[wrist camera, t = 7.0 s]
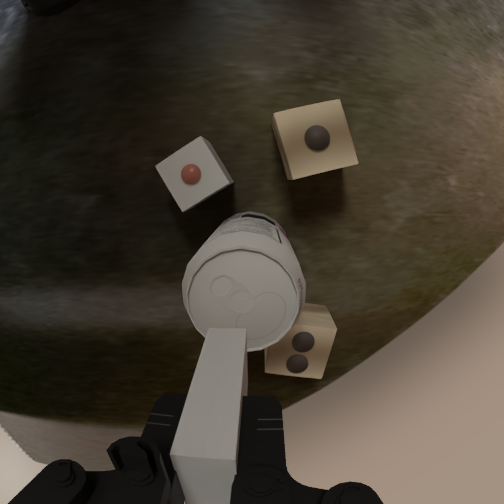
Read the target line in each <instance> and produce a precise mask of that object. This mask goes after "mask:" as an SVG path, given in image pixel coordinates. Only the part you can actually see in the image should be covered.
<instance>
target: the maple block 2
mask: <svg viewBox="0 0 504 504" xmlns="http://www.w3.org/2000/svg"><path fill="white" fill-rule="evenodd" d="M336 331H337V328H336V326H335V324H334V321H333V319H332V317H331V315H330V313H329V311H328V309H327V307H326V306H323V305H316V304H309V303H305V305H304V308H303V310H302V312H301V314H300V317H299V319H298V321H297V323H296V324H295V325H294V326H293V327H292V328H291V329H290V330H289V331H288V332H287V333H286V334H285V335H284V336H283V337H282V338H281V339H280V340H279V341H278V342H276V343H274V344H272V345H270V346H268V347H266V348H265V373H272V374H280V375H288V376H297V377H307V378H317V379H322V376H323V373H324V370H325V367H326V364H327V360H328V357H329V354H330V351H331V348H332V345H333V341H334V338H335V335H336Z"/></svg>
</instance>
